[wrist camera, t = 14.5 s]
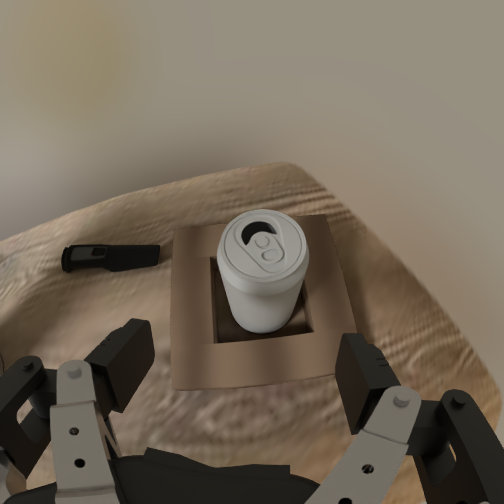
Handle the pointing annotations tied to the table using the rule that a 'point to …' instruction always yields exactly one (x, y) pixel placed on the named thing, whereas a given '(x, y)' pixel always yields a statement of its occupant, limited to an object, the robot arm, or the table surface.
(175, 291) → the hole board
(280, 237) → the beverage can
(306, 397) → the table surface
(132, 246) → the electric trimmer
